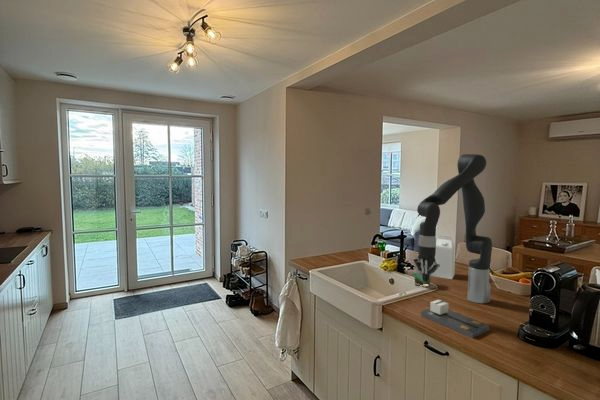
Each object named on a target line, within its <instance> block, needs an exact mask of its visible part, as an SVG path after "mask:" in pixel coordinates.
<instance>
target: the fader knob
mask: <svg viewBox="0 0 600 400" xmlns="http://www.w3.org/2000/svg"><path fill="white" fill-rule="evenodd" d="M429 304H430V306H429V308H430V311H432V312H435V313H437V314H439V315H441V314H443V313H446V312H448V310H449V304H450V303H449V302H447V301H444V300H441V299H439V298H438V299H436V300H433V301H430V303H429Z"/></svg>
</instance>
